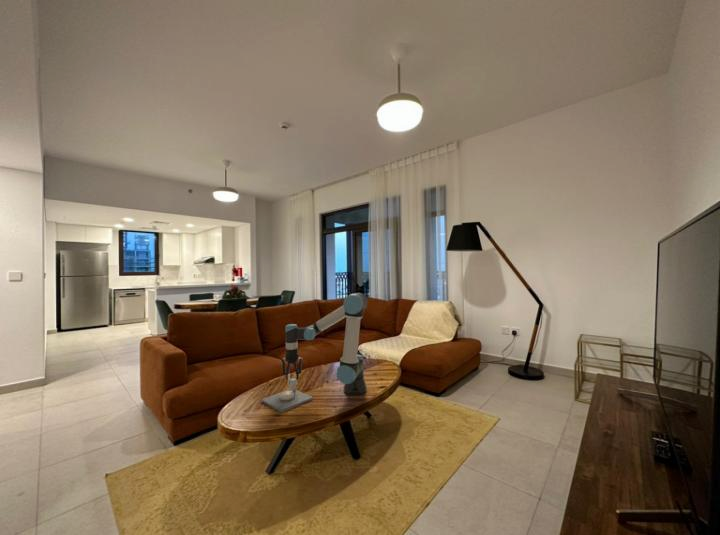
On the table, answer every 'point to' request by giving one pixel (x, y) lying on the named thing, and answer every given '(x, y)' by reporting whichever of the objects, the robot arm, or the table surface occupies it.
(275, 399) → the lock base
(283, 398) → the locking lever
